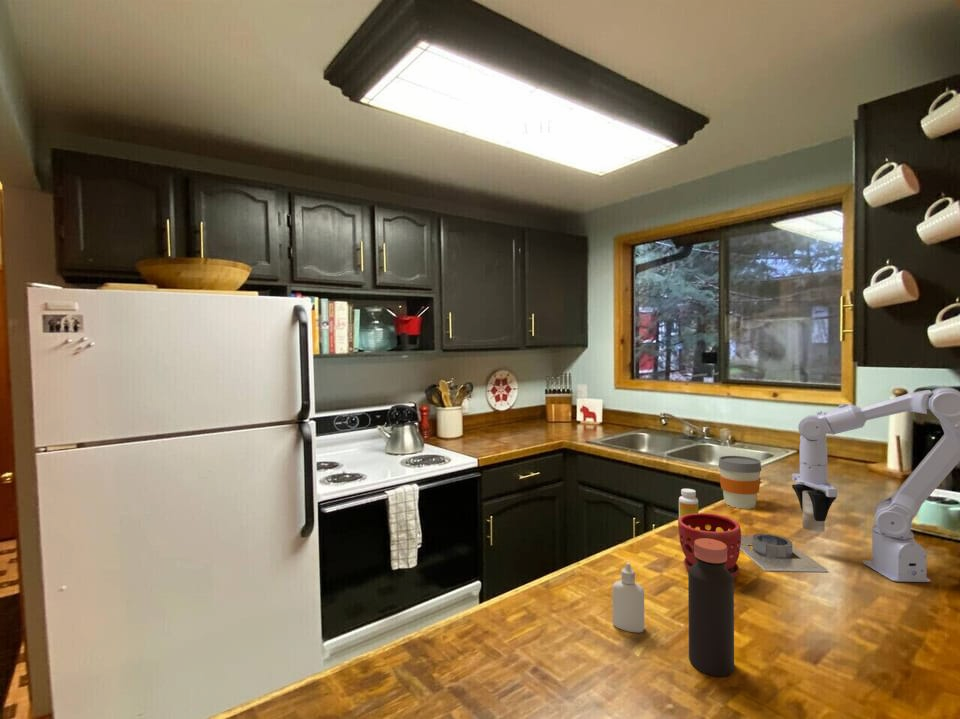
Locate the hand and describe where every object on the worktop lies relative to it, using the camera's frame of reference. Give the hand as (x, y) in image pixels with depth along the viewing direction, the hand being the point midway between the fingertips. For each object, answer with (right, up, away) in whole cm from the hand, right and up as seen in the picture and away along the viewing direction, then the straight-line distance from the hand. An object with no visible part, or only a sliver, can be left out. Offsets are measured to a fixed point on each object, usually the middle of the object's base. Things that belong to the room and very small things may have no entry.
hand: (813, 517), depth 119 cm
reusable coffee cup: (+2, -9, +38) cm, 39 cm away
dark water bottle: (-46, -11, -41) cm, 62 cm away
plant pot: (-31, -10, -9) cm, 33 cm away
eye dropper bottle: (-56, -11, -30) cm, 65 cm away
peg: (0, -3, 0) cm, 3 cm away
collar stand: (-10, -9, +1) cm, 14 cm away
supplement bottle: (-21, -9, +23) cm, 33 cm away
